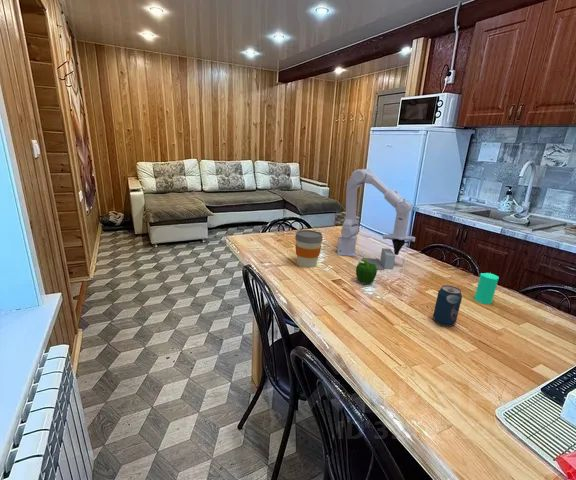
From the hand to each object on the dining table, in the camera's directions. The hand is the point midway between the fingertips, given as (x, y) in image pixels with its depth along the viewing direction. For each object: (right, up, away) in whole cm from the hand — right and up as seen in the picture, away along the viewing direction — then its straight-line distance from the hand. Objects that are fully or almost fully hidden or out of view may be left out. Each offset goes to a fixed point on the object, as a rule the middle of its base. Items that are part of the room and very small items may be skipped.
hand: (396, 254), depth 149 cm
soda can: (0, -21, -45) cm, 50 cm away
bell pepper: (-19, -11, -18) cm, 29 cm away
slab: (-4, -6, +2) cm, 7 cm away
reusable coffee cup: (-43, -5, -2) cm, 43 cm away
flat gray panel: (-11, -5, +2) cm, 12 cm away
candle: (+24, -17, -28) cm, 41 cm away
